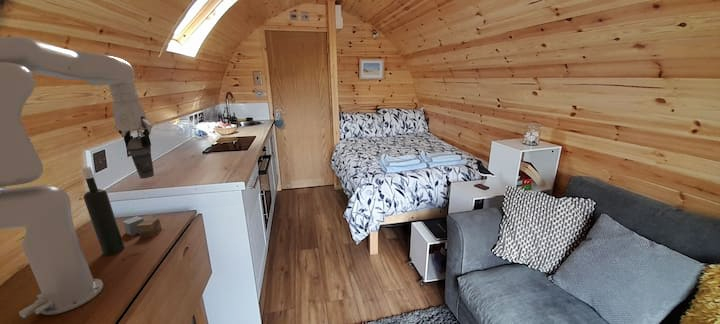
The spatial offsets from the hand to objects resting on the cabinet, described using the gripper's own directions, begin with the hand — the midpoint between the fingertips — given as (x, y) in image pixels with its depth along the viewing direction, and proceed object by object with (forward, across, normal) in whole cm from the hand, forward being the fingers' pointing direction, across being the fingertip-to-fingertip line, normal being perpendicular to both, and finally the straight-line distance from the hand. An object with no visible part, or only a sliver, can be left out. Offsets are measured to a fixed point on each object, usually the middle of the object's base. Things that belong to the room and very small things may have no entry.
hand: (138, 146), depth 113 cm
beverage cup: (+12, 0, 0) cm, 12 cm away
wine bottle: (+32, +2, -21) cm, 38 cm away
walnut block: (+32, +5, -9) cm, 34 cm away
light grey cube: (+32, -3, -8) cm, 33 cm away
